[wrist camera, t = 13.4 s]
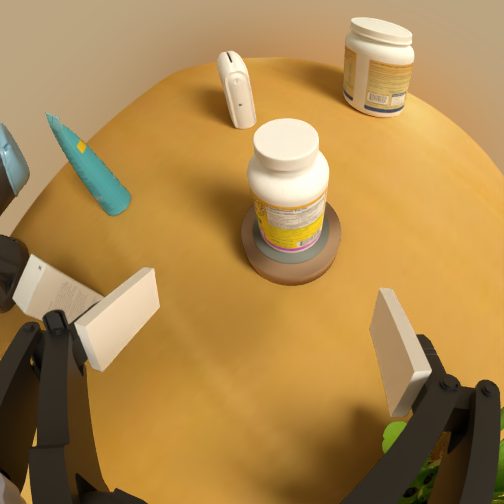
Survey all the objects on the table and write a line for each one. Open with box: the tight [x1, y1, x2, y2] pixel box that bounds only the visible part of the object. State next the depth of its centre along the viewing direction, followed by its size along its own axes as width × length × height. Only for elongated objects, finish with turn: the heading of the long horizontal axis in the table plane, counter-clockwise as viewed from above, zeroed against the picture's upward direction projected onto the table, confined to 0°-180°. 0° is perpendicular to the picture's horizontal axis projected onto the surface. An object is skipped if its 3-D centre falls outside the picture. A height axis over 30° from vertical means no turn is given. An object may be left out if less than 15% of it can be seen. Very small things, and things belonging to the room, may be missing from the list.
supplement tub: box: [343, 18, 414, 118], centre depth 35 cm, size 12×12×17 cm
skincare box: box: [12, 254, 105, 324], centre depth 27 cm, size 6×4×12 cm
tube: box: [45, 113, 131, 216], centre depth 31 cm, size 7×5×19 cm, turn 58°
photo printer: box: [217, 51, 256, 129], centre depth 39 cm, size 10×4×12 cm, turn 12°
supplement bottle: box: [247, 118, 329, 253], centre depth 24 cm, size 7×7×13 cm
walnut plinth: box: [241, 202, 341, 286], centre depth 31 cm, size 11×11×3 cm
